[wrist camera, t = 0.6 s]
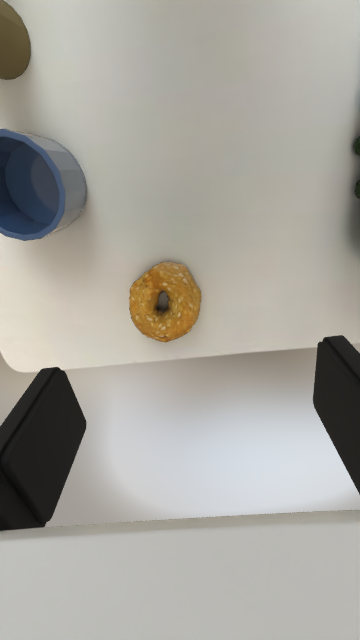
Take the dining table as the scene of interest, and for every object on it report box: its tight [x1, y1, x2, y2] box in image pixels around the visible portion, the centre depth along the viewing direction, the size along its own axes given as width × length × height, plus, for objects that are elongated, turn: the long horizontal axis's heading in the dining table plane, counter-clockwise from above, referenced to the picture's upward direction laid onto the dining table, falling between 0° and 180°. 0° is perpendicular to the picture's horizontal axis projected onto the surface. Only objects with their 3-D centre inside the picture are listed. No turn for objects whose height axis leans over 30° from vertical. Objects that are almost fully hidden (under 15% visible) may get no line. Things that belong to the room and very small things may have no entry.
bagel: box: [129, 262, 201, 342], centre depth 39 cm, size 10×11×5 cm
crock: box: [0, 129, 87, 241], centre depth 31 cm, size 10×10×7 cm
